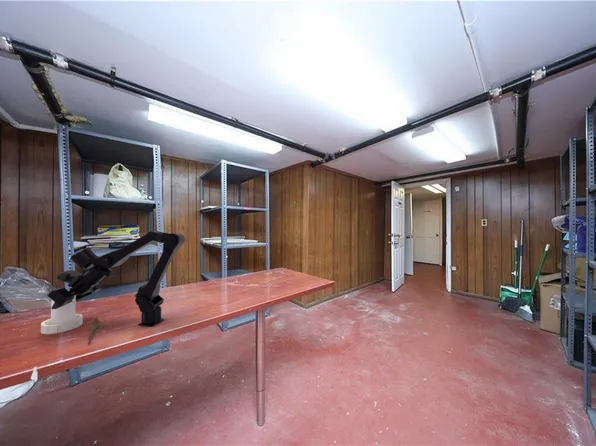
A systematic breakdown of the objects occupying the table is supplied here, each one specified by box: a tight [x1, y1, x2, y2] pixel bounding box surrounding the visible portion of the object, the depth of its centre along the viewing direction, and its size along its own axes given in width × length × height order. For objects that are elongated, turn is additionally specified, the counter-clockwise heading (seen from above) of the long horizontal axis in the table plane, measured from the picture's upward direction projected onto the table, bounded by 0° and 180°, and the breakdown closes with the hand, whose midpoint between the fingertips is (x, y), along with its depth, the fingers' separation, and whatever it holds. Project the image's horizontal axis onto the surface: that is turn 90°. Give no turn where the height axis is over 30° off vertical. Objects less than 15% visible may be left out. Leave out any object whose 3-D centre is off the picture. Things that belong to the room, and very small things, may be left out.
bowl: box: [40, 313, 84, 335], centre depth 84 cm, size 11×11×3 cm
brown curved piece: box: [87, 316, 105, 345], centre depth 79 cm, size 15×2×5 cm, turn 34°
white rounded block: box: [50, 295, 77, 325], centre depth 84 cm, size 6×6×12 cm
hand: (59, 306), depth 84 cm, fingers closed on white rounded block, 5 cm apart
